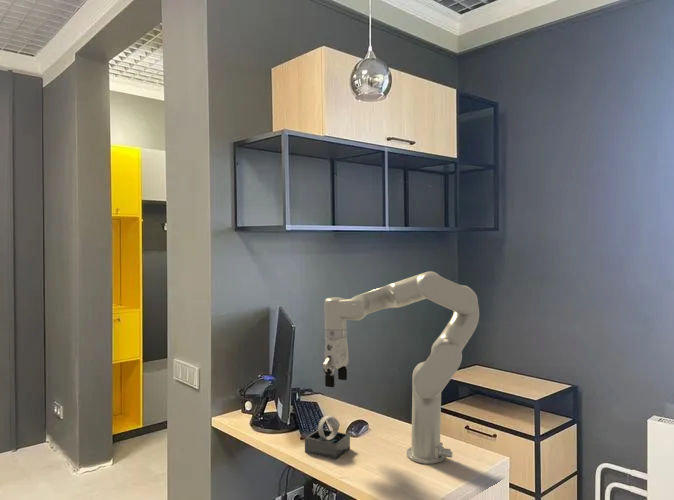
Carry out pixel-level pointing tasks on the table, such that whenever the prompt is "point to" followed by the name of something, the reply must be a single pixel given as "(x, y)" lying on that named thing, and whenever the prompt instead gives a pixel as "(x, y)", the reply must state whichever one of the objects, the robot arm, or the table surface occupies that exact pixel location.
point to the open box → (327, 445)
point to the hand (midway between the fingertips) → (336, 383)
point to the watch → (333, 423)
